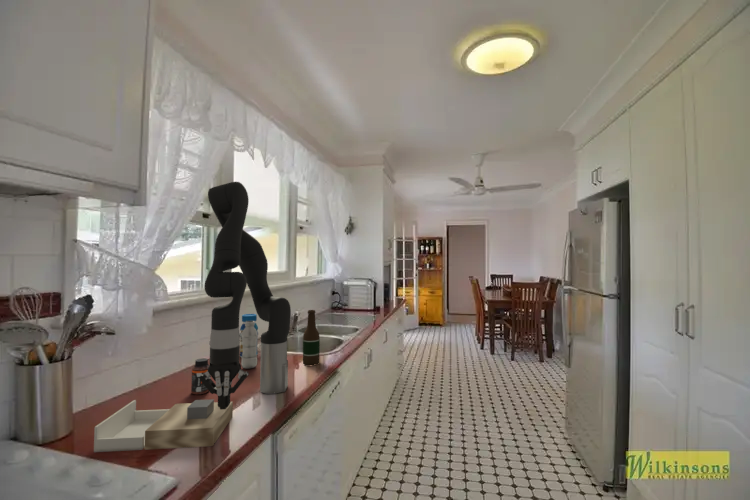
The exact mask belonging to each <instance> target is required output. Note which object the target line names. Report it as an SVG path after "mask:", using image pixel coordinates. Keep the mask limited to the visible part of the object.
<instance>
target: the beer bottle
mask: <svg viewBox="0 0 750 500" xmlns="http://www.w3.org/2000/svg"><path fill="white" fill-rule="evenodd" d="M316 313H317V312H316V309H308V310H307V325H306V328H305V330H304V332H303V335H302V364H305V365H304V366H306V365H314V364H318V363H319V364H320V345H321V344H320V343H321V341H320V340H321V339H320V333H319V331H318V329H317V326H316ZM319 364H318V365H319Z"/></svg>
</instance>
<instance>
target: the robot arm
mask: <svg viewBox="0 0 750 500" xmlns="http://www.w3.org/2000/svg"><path fill="white" fill-rule="evenodd" d="M207 198H208V201H209V205H210V206H211V209H212V211H213V213H214V215H215V217H216V218H217V220H218V222H219V224H220V226H221V229H220V231H219V233H218V234H217V236H216V239H215V243H214V253H213V254H214V256H213V262H212V265H211V267H210V270H209V272H208V274H207V276H206V278H205V282H204V285H203V286H204V291H205V294H206V295H207V296H208V297H209V298H214V299H215V298H232V300H231V301H230V302H229V303H227V304H223V305H218V306H216V307H213V309H212V310H211V323H210V325H211V328H210V335H209V367H208V371H207V372H205V373H203V374H202V375H201V376H200V377H199V379H200V381H201V382H202V383H203V384H204V385H205V387H206V388H207V389H208V390H209V393H210V394H211V395H213V394H214V395H217V402H218V407H220V409H226V408H227V407H228V406H229V404H230V402H231V394H235V392H236V391H237V390H238V389H239V388H240V386H241V385H242V384H243V383H244V381H245V379H246V378H247V377H248V376H249V371H245V370H243V368H242V365H241V363H240V333H241V332H240V310H241V304H242V300H243V297H244V294H245V291H246V288H247V287H248V289H249V291H250V295H251V297H252V301H253V305H254V308H255V311H256V315H257V316H258V317H259V319H260V320H262V321H263V322H266V323H268V329H267V331H264V332H262V334H261V335H260V360H259V361H260V367H259V368H260V371H259V372H260V373H259V374H260V375H259V379H260V380H259V391H260V392H261V393H262V394H267V395H272V394H275V395H276V394H279V393H285V392H286V391H287V388H288V386H289V385H288V382H289V378H288V377H289V360H288V337H289V334H290V329H291V314H292V311H291V304H290V302H289V300H288V299H287V298H285V297H282V296H281V297H280V296H274V295H273V293H272V291H271V289H270V286H269V284H268V277H267V276H268V268H269V267H268V265H269V264H268V258H267V257H266V253H265V251H264V249H263V246H262V244H261V243H260V242H259V240H257V239H256V238H255V237H254V236H252V235H251V234H250V233H249V232H247V231H246V230H245V229H244V226H245V222H246V216H247V212H248V207H249V199H250V198H249V193H248V191H247V189H246V188H245V185H244V184H242V182H240V181H231V182H228V183H224V184H219V185H217V186H212V187H211V188H209V189H208V192H207ZM238 267H239V269H240V271H229V270H233V269H236V268H238ZM236 376H238V377H237V378H238V380H237V381H236V383H235V384H234V385H232V384H233V381H234V379H235V378H236Z"/></svg>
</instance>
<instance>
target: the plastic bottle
mask: <svg viewBox="0 0 750 500" xmlns="http://www.w3.org/2000/svg"><path fill="white" fill-rule="evenodd" d="M254 325H255V324H254V321H246V322H245V326H246V328H245V329H244V330H243V332H242V342H243V354H242V358H241V363H240V365H241V368H242V369H246V370H249V369H254V368H256V367H257V365H258V355H257V356H256V341H257V331H258V330H257V331H256V329H255V328H254Z"/></svg>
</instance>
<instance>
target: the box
mask: <svg viewBox="0 0 750 500" xmlns="http://www.w3.org/2000/svg"><path fill="white" fill-rule="evenodd" d="M169 409H170V408H166V409H146V410H143V409H140V410H137V399H133V400H132V401H131V402H129V403H127V404H126V405H124V406H123V407H122V408H120V409H119V410H117V411H115V413H112V414H111V415H110V416H109V417H107V418H106V419H104V420H102V421H101V422H100V423H98V424H97V425H95V426H94V435H93V437H94V438H93V440H94V441H93V453H104V452H106V453H108V452H121V451H124V452H125V451H142V450H145V431H146V430H147V429H148V428H149V427H150V426H151V425H152V424H154V423H155V422H156V421H157V420H158V419H159V418H160V417H161V416H163V415H164V414H165V413H166V412H167V411H168V410H169Z"/></svg>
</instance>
